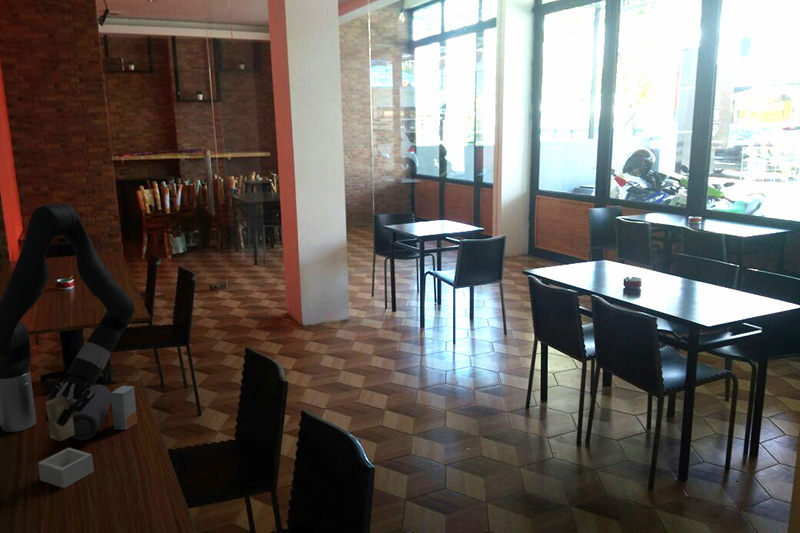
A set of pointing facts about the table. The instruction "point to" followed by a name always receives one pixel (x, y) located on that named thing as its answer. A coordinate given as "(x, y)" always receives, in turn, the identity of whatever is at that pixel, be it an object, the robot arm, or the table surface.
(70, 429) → the birch peg
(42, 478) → the socket stand
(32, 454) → the table surface
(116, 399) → the skincare box
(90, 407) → the bluetooth speaker
